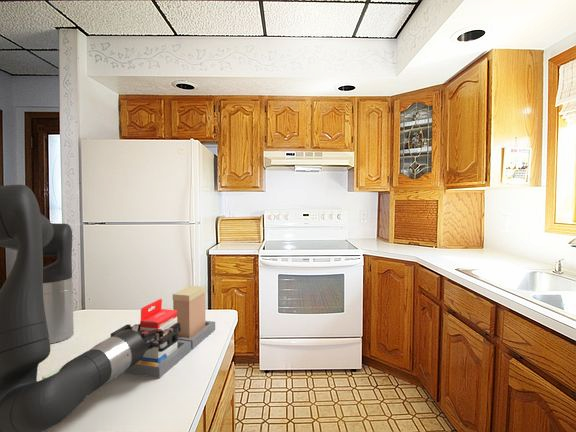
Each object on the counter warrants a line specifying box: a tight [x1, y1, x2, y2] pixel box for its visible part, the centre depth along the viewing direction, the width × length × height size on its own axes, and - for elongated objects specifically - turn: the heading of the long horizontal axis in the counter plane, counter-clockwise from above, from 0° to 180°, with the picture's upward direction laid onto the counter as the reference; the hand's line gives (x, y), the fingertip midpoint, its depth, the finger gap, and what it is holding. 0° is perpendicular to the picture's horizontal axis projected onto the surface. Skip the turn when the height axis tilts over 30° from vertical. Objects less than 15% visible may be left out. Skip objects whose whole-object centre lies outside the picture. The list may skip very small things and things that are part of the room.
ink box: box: [139, 298, 177, 364], centre depth 77 cm, size 8×5×15 cm, turn 168°
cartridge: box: [172, 285, 207, 338], centre depth 91 cm, size 5×9×14 cm, turn 167°
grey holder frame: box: [123, 320, 216, 379], centre depth 84 cm, size 9×27×3 cm, turn 167°
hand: (164, 324), depth 79 cm, fingers open, 8 cm apart
